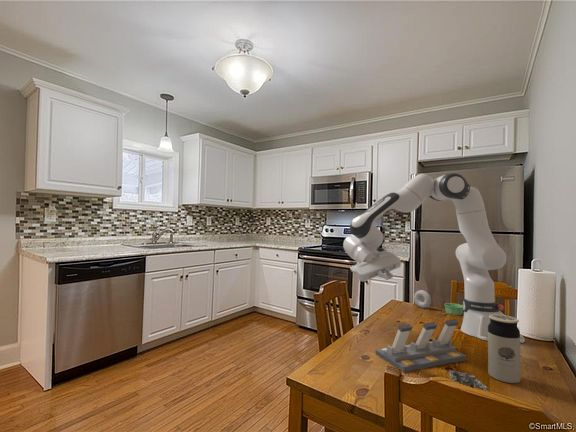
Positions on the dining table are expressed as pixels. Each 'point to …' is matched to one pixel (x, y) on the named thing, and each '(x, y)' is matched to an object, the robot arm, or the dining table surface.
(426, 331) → the lever middle
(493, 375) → the travel mug
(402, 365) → the switch panel
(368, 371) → the dining table surface
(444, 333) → the lever inner
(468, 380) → the egg carton
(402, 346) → the lever outer
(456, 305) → the ramekin
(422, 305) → the donut
